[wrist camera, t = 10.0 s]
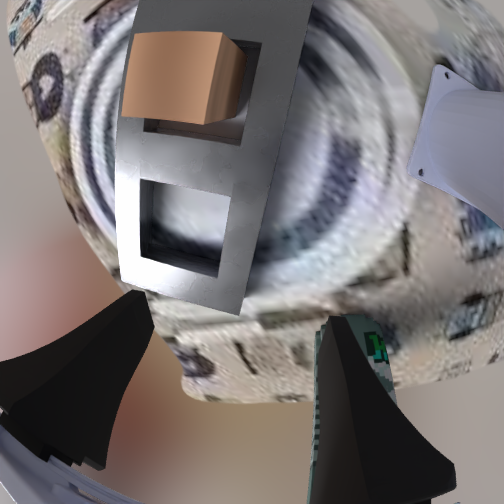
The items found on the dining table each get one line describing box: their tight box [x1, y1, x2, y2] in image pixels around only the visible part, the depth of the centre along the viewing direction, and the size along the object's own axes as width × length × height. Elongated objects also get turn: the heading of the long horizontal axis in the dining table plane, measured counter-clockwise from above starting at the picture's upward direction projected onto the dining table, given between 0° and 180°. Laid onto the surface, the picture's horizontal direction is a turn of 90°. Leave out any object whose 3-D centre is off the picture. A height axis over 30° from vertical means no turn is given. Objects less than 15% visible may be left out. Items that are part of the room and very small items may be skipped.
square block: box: [121, 31, 248, 125], centre depth 11 cm, size 4×4×6 cm
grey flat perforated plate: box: [115, 0, 314, 316], centre depth 13 cm, size 10×30×2 cm, turn 169°
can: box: [307, 315, 397, 504], centre depth 16 cm, size 6×6×15 cm
